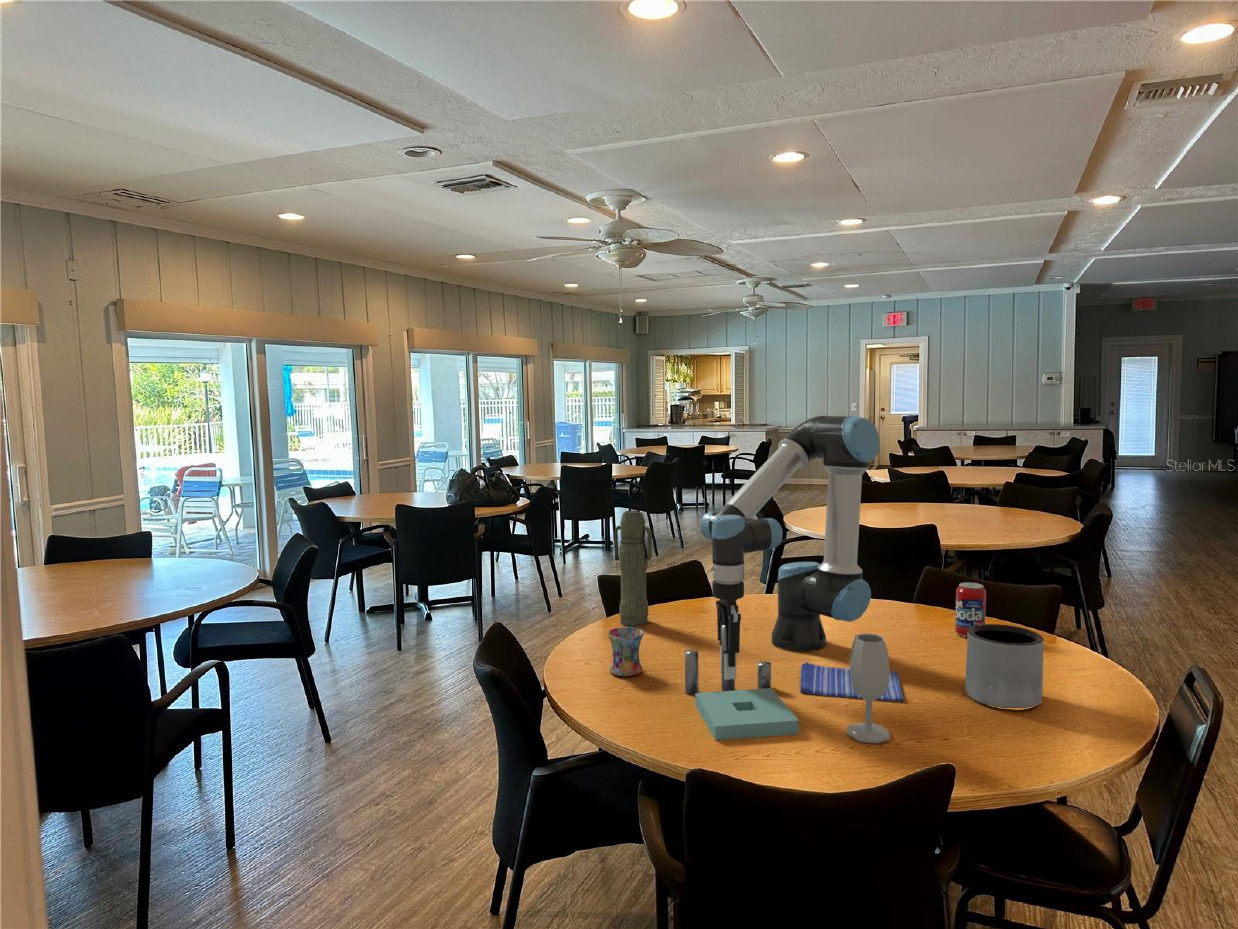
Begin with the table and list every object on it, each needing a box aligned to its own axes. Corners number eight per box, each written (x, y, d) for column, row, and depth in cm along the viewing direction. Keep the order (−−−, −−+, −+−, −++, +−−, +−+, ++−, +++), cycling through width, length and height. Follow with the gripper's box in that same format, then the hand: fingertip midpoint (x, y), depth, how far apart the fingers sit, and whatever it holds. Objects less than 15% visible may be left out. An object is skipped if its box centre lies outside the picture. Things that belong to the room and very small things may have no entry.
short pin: (768, 684, 192) (768, 661, 192) (772, 689, 189) (772, 665, 188) (755, 685, 192) (755, 661, 191) (759, 690, 189) (759, 666, 188)
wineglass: (840, 727, 167) (841, 632, 165) (879, 725, 168) (881, 630, 166) (856, 746, 159) (857, 645, 157) (897, 743, 160) (899, 643, 157)
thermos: (650, 627, 239) (649, 514, 236) (612, 625, 242) (610, 513, 238) (655, 619, 248) (654, 509, 244) (618, 617, 250) (617, 509, 247)
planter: (1011, 718, 171) (1013, 649, 169) (949, 694, 185) (951, 629, 183) (1057, 704, 178) (1060, 637, 177) (995, 681, 192) (997, 619, 191)
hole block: (770, 700, 182) (771, 688, 182) (798, 734, 165) (798, 720, 164) (695, 705, 180) (695, 693, 180) (715, 740, 162) (715, 726, 162)
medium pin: (696, 689, 190) (696, 649, 189) (699, 694, 187) (699, 653, 186) (683, 690, 189) (683, 650, 188) (686, 695, 186) (686, 654, 185)
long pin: (732, 687, 191) (732, 623, 189) (736, 692, 188) (736, 627, 186) (720, 687, 191) (719, 623, 189) (723, 692, 187) (723, 627, 186)
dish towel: (801, 671, 203) (801, 660, 202) (898, 678, 196) (898, 667, 196) (798, 696, 186) (798, 684, 186) (904, 705, 180) (904, 693, 180)
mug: (636, 681, 196) (635, 639, 195) (602, 676, 199) (601, 635, 198) (652, 665, 207) (652, 626, 206) (620, 661, 210) (619, 622, 209)
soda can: (986, 633, 229) (988, 583, 227) (982, 641, 222) (984, 589, 221) (957, 629, 233) (959, 580, 231) (952, 637, 226) (954, 586, 225)
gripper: (704, 573, 194) (704, 665, 196) (721, 589, 178) (721, 689, 180) (733, 571, 195) (734, 663, 197) (753, 588, 179) (753, 687, 181)
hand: (728, 675), depth 189 cm, fingers closed on long pin, 3 cm apart
